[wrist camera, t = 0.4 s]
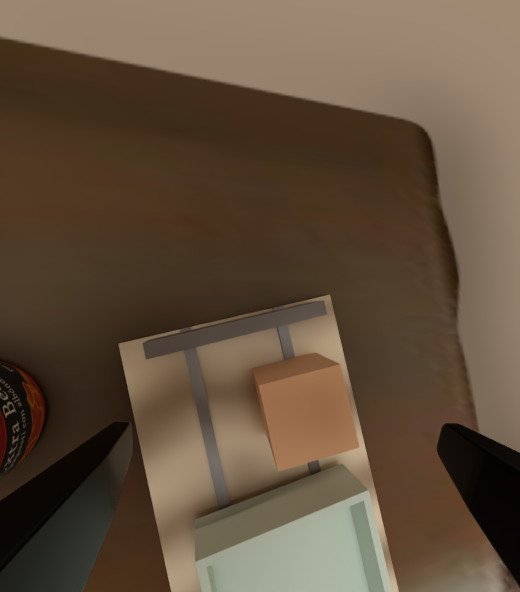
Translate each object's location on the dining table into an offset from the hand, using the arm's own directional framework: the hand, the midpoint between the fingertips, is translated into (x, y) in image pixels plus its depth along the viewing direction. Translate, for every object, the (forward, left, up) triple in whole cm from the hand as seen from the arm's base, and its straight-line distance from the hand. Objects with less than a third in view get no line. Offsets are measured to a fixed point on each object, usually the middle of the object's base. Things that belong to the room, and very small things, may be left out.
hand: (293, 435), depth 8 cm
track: (-10, -1, -14) cm, 18 cm away
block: (-3, -4, -13) cm, 14 cm away
